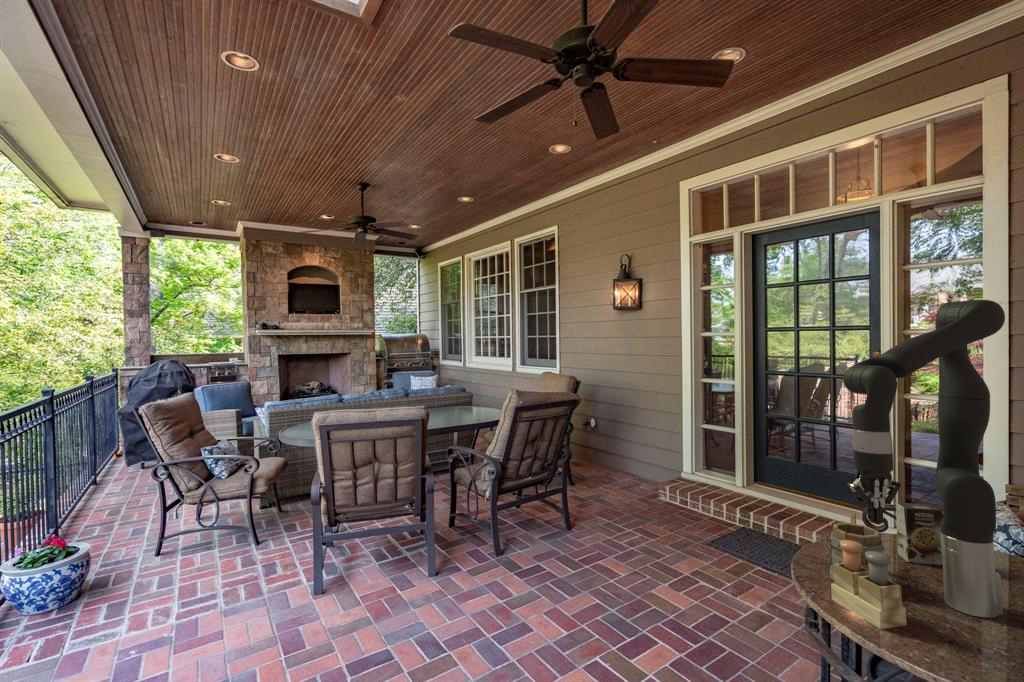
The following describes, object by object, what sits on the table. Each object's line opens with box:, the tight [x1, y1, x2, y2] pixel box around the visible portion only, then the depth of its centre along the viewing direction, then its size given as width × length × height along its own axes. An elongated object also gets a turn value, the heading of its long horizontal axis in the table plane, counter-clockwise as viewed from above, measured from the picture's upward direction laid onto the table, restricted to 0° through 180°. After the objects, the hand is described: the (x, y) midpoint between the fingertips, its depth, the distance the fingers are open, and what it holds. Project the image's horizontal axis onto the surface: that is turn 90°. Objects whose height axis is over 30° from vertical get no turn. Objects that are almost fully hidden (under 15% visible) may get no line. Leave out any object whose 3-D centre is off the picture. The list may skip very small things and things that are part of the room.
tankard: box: [829, 512, 885, 581], centre depth 129 cm, size 20×13×15 cm, turn 143°
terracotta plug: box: [840, 540, 863, 573], centre depth 115 cm, size 5×5×7 cm
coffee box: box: [895, 501, 943, 566], centre depth 138 cm, size 9×6×16 cm
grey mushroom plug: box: [865, 551, 891, 587], centre depth 108 cm, size 5×5×7 cm
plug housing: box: [830, 563, 907, 630], centre depth 111 cm, size 7×13×9 cm, turn 9°
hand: (875, 522), depth 108 cm, fingers closed
